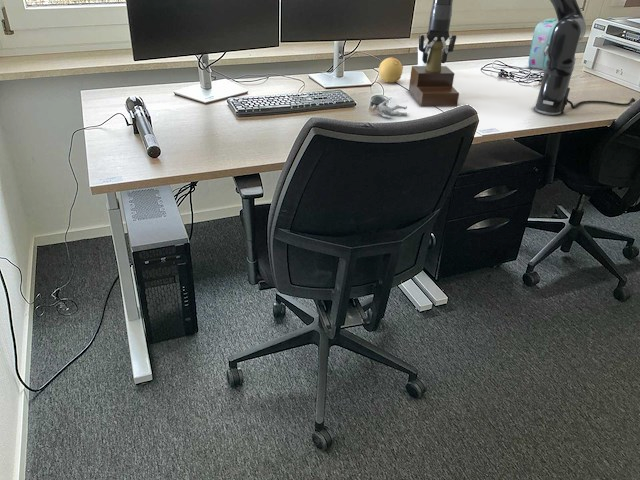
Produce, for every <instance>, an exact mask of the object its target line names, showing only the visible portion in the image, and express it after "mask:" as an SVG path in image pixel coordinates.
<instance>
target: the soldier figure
mask: <svg viewBox="0 0 640 480" xmlns="http://www.w3.org/2000/svg"><path fill="white" fill-rule="evenodd" d="M392 99H393V97H388V98H387V99H386V100H384V101H382V102H381V103H379V104H378V105H376V104H373V105H372V112H374V111H376V110H377V112H378V113H379V115H381V116H382V117H383V118H388V119H390V118H392V116H395V115H396V116H401V115H403V116H406V115H407V114H408V112H400V111H399V109H400V110H401V109H403V110H407V108H408V105H406V106H402V105H399V104H396V105H394V106H392V107H390V106H388V105H386V104H387V103H388V102H389V101H391V100H392Z"/></svg>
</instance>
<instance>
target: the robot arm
mask: <svg viewBox="0 0 640 480" xmlns="http://www.w3.org/2000/svg"><path fill="white" fill-rule="evenodd" d="M549 2H550V3H551V4H552V6H553V9H554V11H555V15H556V19H558V23H557V24H556V25H555V27H554V29H553V32H552V35H551V40H550V44H549V49H548V60H547V64H546V68H545V70H544V72H543V76H542V79H541V84H540V88H539V91H538V96H537V99H536V102H535V105H534V111H535V112H536V113H539V114H542V115H547V116H558V115H562V114H564V111H565V108H566V106H567V105H568V104H570V107H571V108H572V109H577V108H578V107H579V106H581V105H582V104H591V103H592V104H608V105H613V106H621V107H622V106H625V107H626V106H629V105H632V103H633V102H635V101H636V99H635V98H634V97H632V98H631V99H630V101H628V102H625V103H624V102H623V103H621V102H615V101H614V102H613V101H609V100H608V101H607V100H582V101H579V102H577V103H576V104H575V105H574V103H573V101H571V100H569V98H568V97H569V94H570V91H571V88H570V87H569V85H570V82H571V78H572V75H573V72H574V68H575V64H576V61H577V59H576V52H577V47H578V45H579V42H580V41H581V40H582V39H584V37H585V35H586V33H587V29H588V28H587V27H588V25H587V23H586V19H585V18H584V14H583V13H582V10H581V8H580V6H579V4H578V1H577V0H549ZM453 4H454V0H432V5H431V9H430V15H429V22H428V31H427V33H419V34H418V43H419V50H420V51H421V52H423V58H422V61H423V62H424V63H427V58H428V51H429V50H430V48H431V47H432V46H433V44H434V43H435V42H436V41H441V42H442V43H443V49H442V56H441V64H445V63H446V62H447V59H448V54H449V53H453V52H454V48H455V45H456V40H457V35H456V34H454V33H452V34H450V27H451V19H452V13H453ZM426 39H427V41H426ZM448 40H449V43H448V45H447V43H446V42H447V41H448ZM425 41H426V42H427V43H426V46H425V47H424V42H425Z"/></svg>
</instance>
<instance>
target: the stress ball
mask: <svg viewBox="0 0 640 480" xmlns="http://www.w3.org/2000/svg"><path fill="white" fill-rule="evenodd" d="M403 70H404V65H403V64H402V63H401V62H400V60H399V59H397V58H395V57H393V56H390V57H386V58H384V59H383V60H382V61H381V62H380V64H379V66H378V75H379V77H380V79H381V80H383V81H384V82H386V83H396V82H398V81H399V80H400V79H401V78H402V75H403Z"/></svg>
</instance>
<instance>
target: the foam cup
mask: <svg viewBox="0 0 640 480" xmlns="http://www.w3.org/2000/svg"><path fill="white" fill-rule="evenodd" d="M427 42H428V41H424V47H425V46H426V43H427ZM430 50H431V48H430ZM430 50H429V51H428V57H429V53H430ZM422 58H423V52H421V51H420V50H419V42H418V44H417V66H426V65H427V63H424V62H423V61H422ZM427 61H428V58H427Z"/></svg>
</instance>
